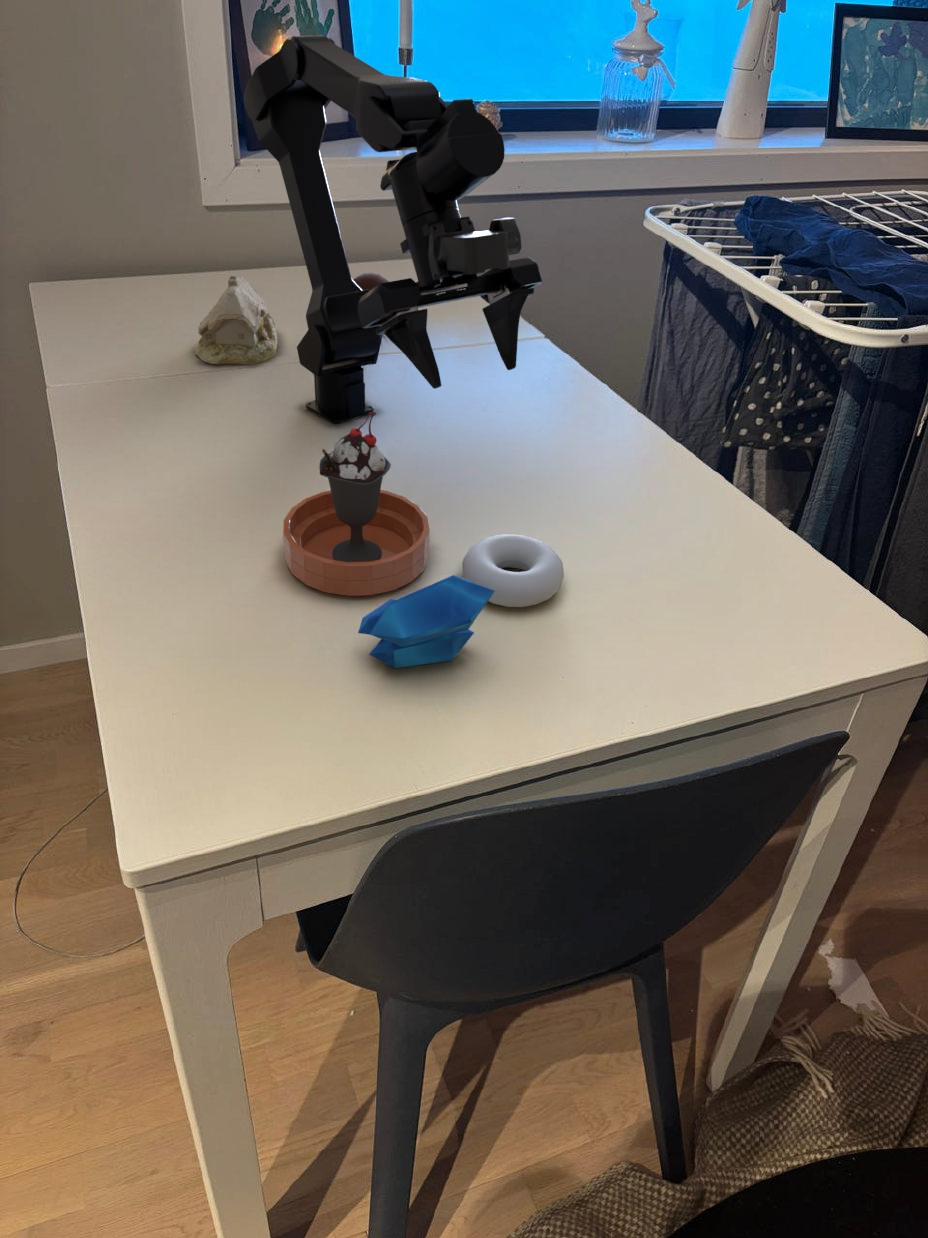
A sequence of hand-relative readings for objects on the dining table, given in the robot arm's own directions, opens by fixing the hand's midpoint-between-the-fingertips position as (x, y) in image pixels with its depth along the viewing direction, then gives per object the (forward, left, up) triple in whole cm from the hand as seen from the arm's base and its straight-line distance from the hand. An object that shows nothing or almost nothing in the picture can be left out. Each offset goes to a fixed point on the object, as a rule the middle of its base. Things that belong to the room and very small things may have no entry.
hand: (475, 378), depth 93 cm
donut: (+13, -6, -15) cm, 21 cm away
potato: (-49, +26, -15) cm, 58 cm away
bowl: (0, -15, -15) cm, 21 cm away
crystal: (+16, -20, -15) cm, 30 cm away
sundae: (0, -15, -15) cm, 21 cm away
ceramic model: (-53, +5, -15) cm, 55 cm away
